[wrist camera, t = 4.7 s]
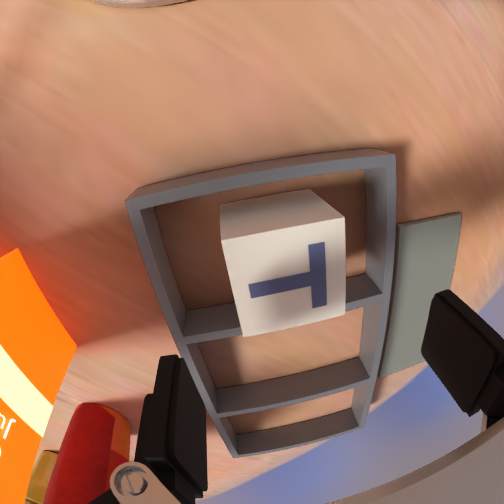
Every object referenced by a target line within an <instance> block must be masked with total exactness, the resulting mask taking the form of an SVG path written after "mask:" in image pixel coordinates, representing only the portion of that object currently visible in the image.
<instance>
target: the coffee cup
mask: <svg viewBox="0 0 504 504" xmlns="http://www.w3.org/2000/svg"><path fill="white" fill-rule="evenodd" d="M130 431H131V428H130V423H129V422H128V420H127V419H126V418H125V417H124V416H123V415H121V414H120V413H118V412H117V411H115V410H113V409H111V408H108V407H106V406H103V405H99V404H95V403H82V404H80V405H78V406H77V408H76V409H75V412H74V414H73V416H72V418H71V421H70V423H69V426H68V429H67V431H66V434H65V437H64V439H63V442H62V445H61V448H60V451H59V453H58V456H57V459H56V462H55V465H54V468H53V471H52V474H51V477H50V480H49V483H48V487H47V490H46V493H45V497H44V502H43V504H88V503H90V502H91V501H93V500H94V499H96V498H97V497H98V496H100V495H101V494H103V493H104V492H106V491H107V490H108V489H110V477H111V474H112V473H113V471H114V470H115V469H116V468H117V467H118V466H119V465H121V464H123V463H126V462H129V451H130Z"/></svg>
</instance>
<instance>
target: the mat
mask: <svg viewBox="0 0 504 504" xmlns="http://www.w3.org/2000/svg"><path fill="white" fill-rule="evenodd" d="M461 217H462V214H460V213H454V214H449V215H444V216H439V217H434V218H429V219H424V220H419V221H414V222H409V223H404V224H399V225H397V226H396V246H395V260H394V272H393V282H392V292H391V300H390V308H389V315H388V322H387V328H386V334H385V340H384V346H383V351H382V357H381V362H380V367H379V371H378V377H379V379H380V378H383V377H385V376H388V375H391V374H393V373H396V372H399V371H401V370H404V369H406V368H409V367H411V366H414V365H416V364H419V363H421V362H423V361H426V360H425V359H424V358H423V356H422V354H421V346H422V342H423V338H424V334H425V329H426V325H427V320H428V316H429V311H430V305H431V301H432V299H433V298H434V295H435V294H436V293H438V292H440V291H443V290H446V289H449V290H450V286H451V281H452V276H453V271H454V266H455V260H456V254H457V248H458V241H459V234H460V226H461Z"/></svg>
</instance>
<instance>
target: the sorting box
mask: <svg viewBox="0 0 504 504" xmlns="http://www.w3.org/2000/svg"><path fill="white" fill-rule="evenodd" d="M361 169H365V185H366V274H362V275H358V276H354V277H350V278H346V297H345V312H346V311H349V310H353V309H357V308H360V307H364V310H363V322H362V333H361V343H360V352H359V357H357V358H354V359H351V360H347V361H344V362H340V363H337V364H333V365H330V366H326V367H322V368H318V369H315V370H311V371H307V372H302V373H298V374H294V375H290V376H285V377H281V378H276V379H271V380H266V381H261V382H256V383H251V384H245V385H239V386H233V387H227V388H221V389H215V386H214V384H213V382H212V379H211V377H210V374H209V372H208V369H207V367H206V364H205V362H204V359H203V357H202V354H201V351H200V349H199V346H198V344H197V343H198V342H205V341H211V340H217V339H222V338H228V337H233V336H239V335H243V333H242V329H241V325H240V321H239V317H238V313H237V308H236V304H235V302H234V303H228V304H223V305H218V306H212V307H207V308H201V309H196V310H190V311H185V308H184V305H183V302H182V299H181V296H180V293H179V290H178V287H177V284H176V281H175V278H174V275H173V272H172V269H171V265H170V262H169V259H168V256H167V252H166V249H165V246H164V243H163V239H162V236H161V232H160V229H159V225H158V222H157V218H156V215H155V211H154V206H158V205H162V204H166V203H171V202H175V201H180V200H184V199H189V198H193V197H198V196H203V195H207V194H212V193H217V192H222V191H227V190H233V189H238V188H243V187H248V186H254V185H260V184H265V183H271V182H277V181H283V180H289V179H296V178H302V177H309V176H315V175H322V174H330V173H337V172H345V171H353V170H361ZM125 204H126V208H127V211H128V214H129V218H130V221H131V224H132V228H133V231H134V234H135V237H136V240H137V243H138V246H139V249H140V252H141V255H142V258H143V261H144V264H145V267H146V270H147V273H148V275H149V278H150V281H151V284H152V286H153V289H154V292H155V294H156V297H157V300H158V302H159V305H160V307H161V310H162V312H163V315H164V317H165V320H166V322H167V325H168V327H169V330H170V332H171V334H172V337H173V339H174V341H175V344H176V346H177V348H178V351H179V353H180V355H181V357H182V358H184V360H185V362H186V364H187V367H188V369H189V371H190V373H191V376H192V378H193V380H194V382H195V385H196V387H197V389H198V391H199V393H200V395H201V398H202V400H203V402H204V404H205V408H206V409H207V411H208V413H209V415H210V417H211V419H212V421H213V423H214V425H215V427H216V428H217V430H218V432H219V434H220V436H221V438H222V439H223V441H224V443H225V445H226V446H227V448H228V450H229V452H230V453H231V455H232V457H233V458H238V457H245V456H252V455H258V454H264V453H269V452H275V451H280V450H285V449H289V448H294V447H298V446H302V445H307V444H311V443H314V442H318V441H322V440H326V439H329V438H333V437H336V436H339V435H343V434H346V433H349V432H352V431H355V430H358V429H361V428H364V426H365V422H366V418H367V415H368V411H369V407H370V404H371V400H372V396H373V391H374V387H375V383H376V378H377V374H378V369H379V364H380V359H381V354H382V348H383V343H384V337H385V331H386V324H387V318H388V311H389V303H390V295H391V286H392V276H393V265H394V251H395V233H396V155H395V154H393V153H389V152H385V151H382V150H378V149H374V148H367V149H355V150H345V151H336V152H327V153H318V154H310V155H303V156H296V157H289V158H282V159H275V160H269V161H263V162H257V163H251V164H245V165H240V166H234V167H229V168H224V169H219V170H214V171H209V172H204V173H199V174H195V175H190V176H186V177H181V178H177V179H172V180H168V181H164V182H160V183H156V184H152V185H148V186H144V187H140V188H137V189H136V190H135V191H134V192H133V193H132V194H131V195H130V196H129V197H128V198H127V199H126V200H125ZM354 387H355V389H354V395H353V401H352V407H351V408H350V409H347V410H344V411H341V412H337V413H334V414H331V415H327V416H323V417H320V418H316V419H312V420H308V421H304V422H300V423H296V424H291V425H287V426H282V427H277V428H272V429H267V430H262V431H256V432H250V433H244V434H237V435H236V434H235V432H234V430H233V428H232V425H231V423H230V421H229V419H228V417H227V416H234V415H240V414H247V413H252V412H258V411H263V410H268V409H273V408H278V407H283V406H288V405H292V404H296V403H301V402H305V401H309V400H313V399H316V398H320V397H324V396H328V395H331V394H335V393H338V392H341V391H345V390H348V389H351V388H354Z"/></svg>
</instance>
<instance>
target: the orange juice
mask: <svg viewBox="0 0 504 504" xmlns="http://www.w3.org/2000/svg"><path fill="white" fill-rule="evenodd" d="M76 348H77V345H76V344H75V343H74V341H73V340H72V338H71V337H70V336H69V334H68V333H67V331H66V330H65V328H64V327H63V325H62V324H61V322H60V321H59V319H58V318H57V316H56V315H55V313H54V312H53V310H52V308H51V307H50V305H49V304H48V302H47V300H46V299H45V297H44V295H43V294H42V292H41V290H40V289H39V287H38V285H37V283H36V282H35V280H34V278H33V276H32V274H31V273H30V271H29V269H28V267H27V265H26V263H25V261H24V259H23V257H22V255H21V253H20V251H19V249H18V248H17V249H15V250H13V251H12V252H10V253H8V254H6V255H4V256H2V257H1V258H0V504H24V503H25V498H26V493H27V489H28V485H29V481H30V477H31V473H32V469H33V465H34V462H35V458H36V455H37V451H38V448H39V445H40V441H41V438H42V437H43V435H44V432H45V429H46V426H47V423H48V420H49V417H50V414H51V412H52V409H53V404H54V401H55V398H56V396H57V393H58V391H59V388H60V386H61V383H62V381H63V378H64V376H65V373H66V371H67V369H68V366H69V364H70V362H71V359H72V357H73V355H74V353H75V350H76Z"/></svg>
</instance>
